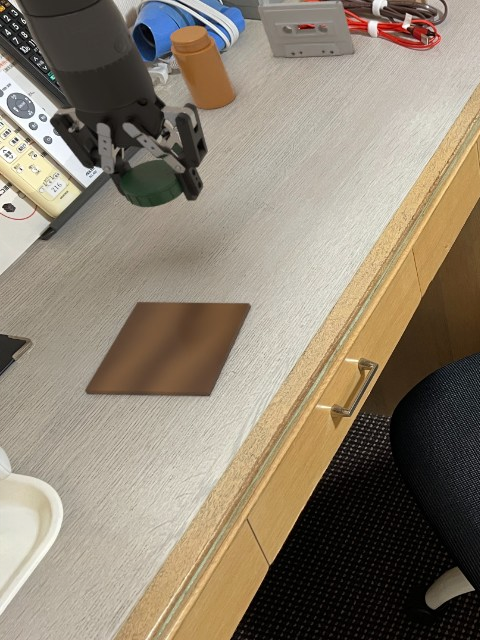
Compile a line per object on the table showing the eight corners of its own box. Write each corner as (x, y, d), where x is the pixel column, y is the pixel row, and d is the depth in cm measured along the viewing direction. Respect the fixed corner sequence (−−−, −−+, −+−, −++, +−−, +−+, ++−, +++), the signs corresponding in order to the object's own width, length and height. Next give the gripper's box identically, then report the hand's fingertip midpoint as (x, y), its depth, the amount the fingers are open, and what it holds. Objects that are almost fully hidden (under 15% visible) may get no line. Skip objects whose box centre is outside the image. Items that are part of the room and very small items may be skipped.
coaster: (86, 393, 78) (84, 390, 78) (139, 305, 87) (137, 301, 86) (209, 395, 78) (207, 392, 78) (250, 306, 86) (249, 302, 86)
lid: (118, 208, 84) (110, 194, 83) (140, 173, 88) (133, 159, 86) (175, 207, 84) (168, 193, 82) (194, 172, 88) (188, 158, 86)
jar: (189, 110, 112) (160, 45, 105) (199, 89, 116) (172, 24, 109) (230, 108, 113) (204, 42, 106) (239, 86, 116) (215, 22, 109)
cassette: (355, 49, 123) (342, -2, 117) (353, 55, 122) (340, 4, 116) (275, 52, 123) (258, 2, 117) (272, 58, 122) (255, 8, 116)
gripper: (181, 27, 77) (243, 175, 90) (32, 29, 78) (114, 175, 90) (149, 67, 72) (219, 218, 84) (-10, 69, 73) (83, 219, 85)
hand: (165, 195), depth 87 cm, fingers closed on lid, 5 cm apart
